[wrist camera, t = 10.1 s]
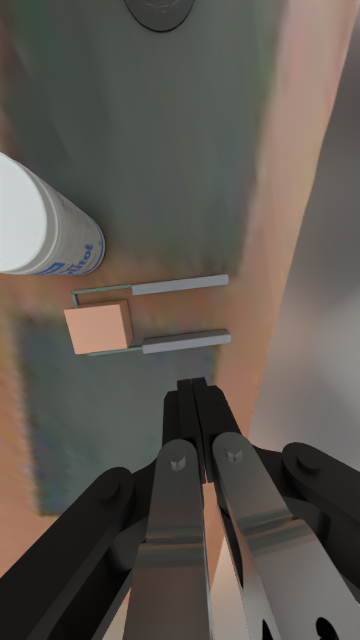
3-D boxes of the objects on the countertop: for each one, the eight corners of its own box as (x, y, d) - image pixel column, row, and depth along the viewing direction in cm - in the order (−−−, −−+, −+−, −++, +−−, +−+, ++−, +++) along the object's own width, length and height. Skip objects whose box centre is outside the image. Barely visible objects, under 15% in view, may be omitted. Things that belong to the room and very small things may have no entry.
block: (80, 304, 31) (63, 310, 26) (126, 299, 31) (119, 304, 26) (89, 342, 33) (75, 354, 28) (133, 337, 33) (127, 348, 28)
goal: (72, 291, 30) (70, 291, 30) (132, 284, 30) (131, 284, 30) (89, 354, 33) (87, 356, 33) (143, 347, 33) (143, 349, 33)
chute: (135, 284, 30) (131, 285, 28) (222, 274, 31) (228, 274, 28) (146, 346, 33) (143, 353, 30) (225, 336, 34) (231, 342, 31)
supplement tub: (87, 287, 30) (13, 298, 16) (33, 250, 28) (-105, 225, 14) (119, 237, 29) (69, 201, 14) (64, 195, 27) (-56, 105, 12)
